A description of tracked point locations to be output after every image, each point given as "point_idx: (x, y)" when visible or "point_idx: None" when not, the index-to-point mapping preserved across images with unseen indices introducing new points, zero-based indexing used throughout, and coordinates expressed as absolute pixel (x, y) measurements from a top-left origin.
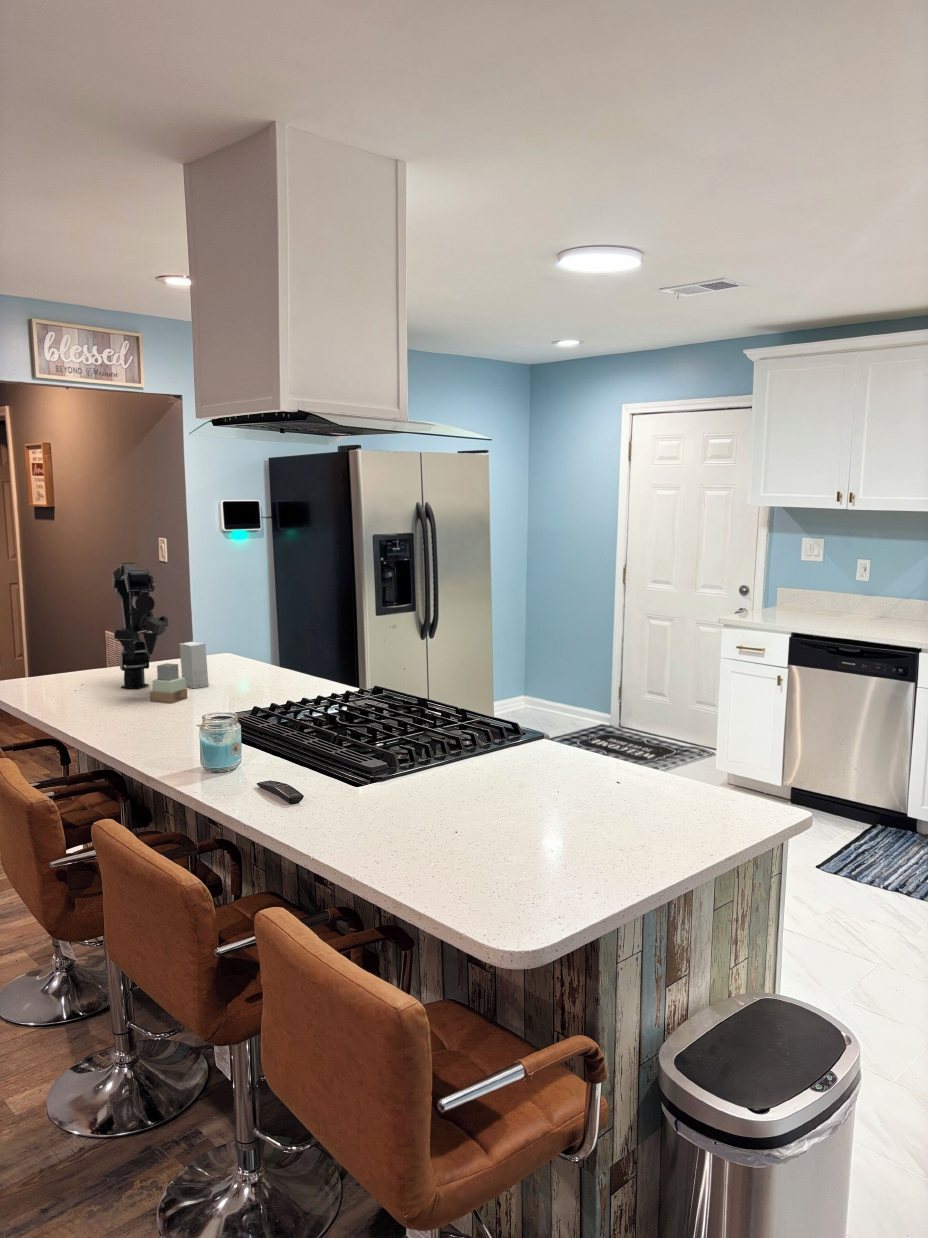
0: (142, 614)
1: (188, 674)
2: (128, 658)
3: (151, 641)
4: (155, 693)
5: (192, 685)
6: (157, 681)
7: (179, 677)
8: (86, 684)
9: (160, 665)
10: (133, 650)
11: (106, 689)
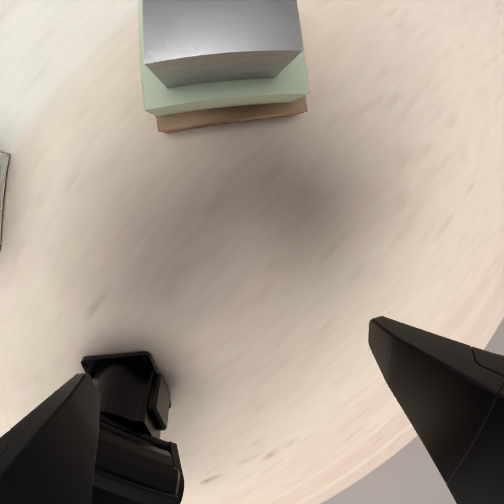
0: None
1: None
2: (164, 472)
3: (37, 478)
4: None
5: (2, 162)
6: (302, 56)
7: (140, 13)
8: (201, 477)
9: (277, 26)
10: (455, 350)
11: (213, 420)
